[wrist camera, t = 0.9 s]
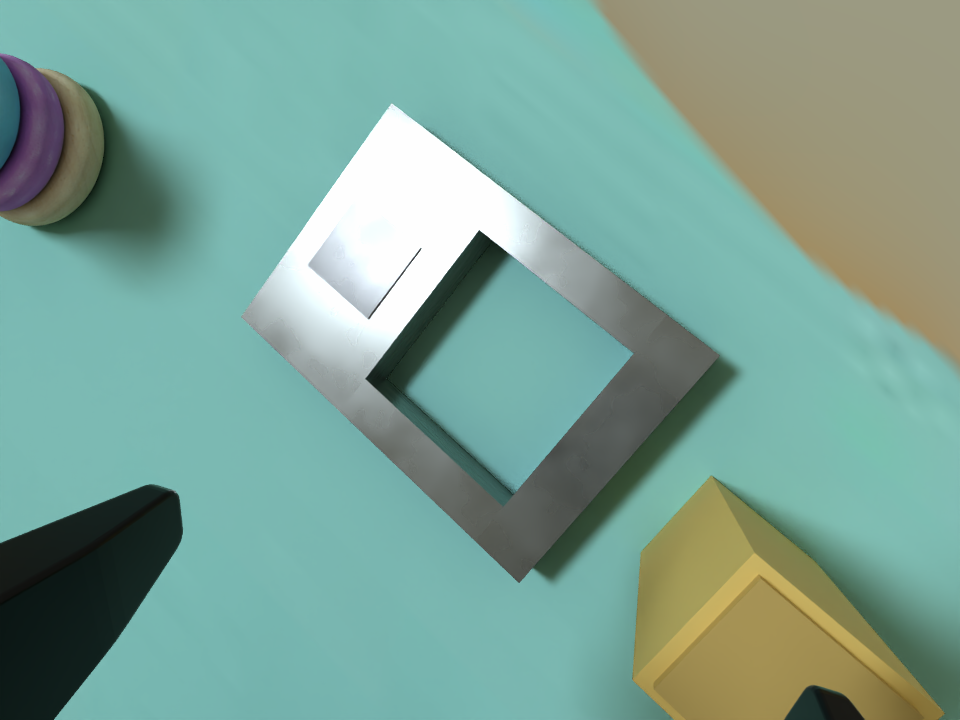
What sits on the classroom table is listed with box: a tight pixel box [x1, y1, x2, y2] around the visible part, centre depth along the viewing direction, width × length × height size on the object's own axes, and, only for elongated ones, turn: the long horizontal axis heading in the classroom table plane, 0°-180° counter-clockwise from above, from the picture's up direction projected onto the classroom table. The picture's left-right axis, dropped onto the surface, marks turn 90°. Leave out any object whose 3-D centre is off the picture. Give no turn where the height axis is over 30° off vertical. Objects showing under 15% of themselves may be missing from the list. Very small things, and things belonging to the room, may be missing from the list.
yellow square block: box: [632, 476, 945, 720], centre depth 17 cm, size 4×4×10 cm
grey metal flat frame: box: [241, 104, 720, 583], centre depth 24 cm, size 11×16×2 cm
